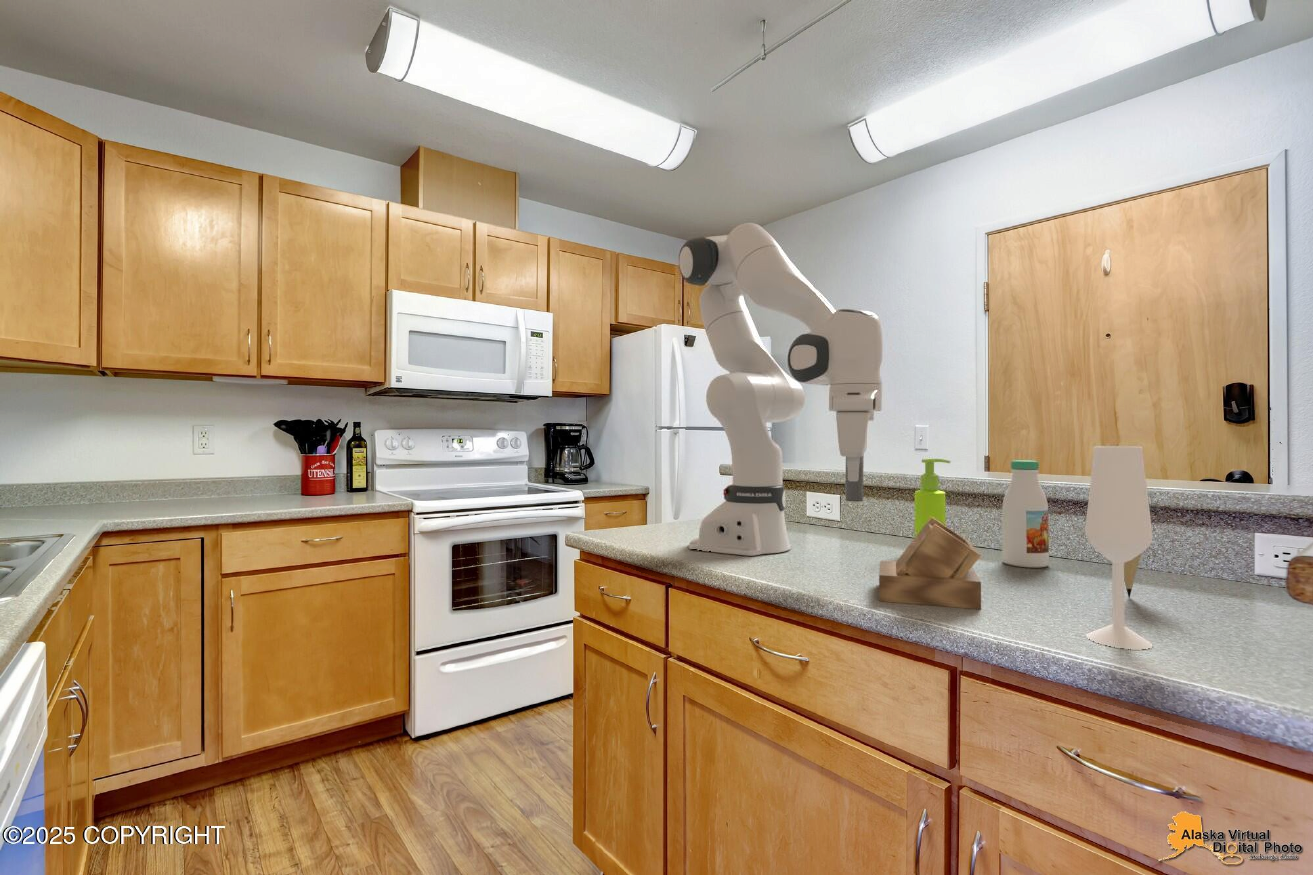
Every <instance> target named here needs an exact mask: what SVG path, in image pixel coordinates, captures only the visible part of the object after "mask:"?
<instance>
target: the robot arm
mask: <svg viewBox="0 0 1313 875" xmlns="http://www.w3.org/2000/svg"><path fill="white" fill-rule="evenodd" d="M678 268H679V272H680V275H681V276H682V279H683V280H684V281H685V282H686V283H687V284H690V285H693V286H700V287H702V286H706V287H705V288H704V289H703V290H702V291H701V293H700V295H699V300H698V302H699V303H698V304H699V311H700V316H701V320H702V324H703V329H704V331H705V334H706V336H707V339H708V342H709V344H710V347H711V350H712V353H713V355H714V358H715V361H716V362H717V364H718V365H719V366H720V367H721V368H722V369H723V370H725V371H727V372H728V373H725V374H721V375H718V376H717V375H716V376H715V377H714V378H713V379H712V380H711V381H710V383H709V385H708V387H707V390H706V396H705V398H706V400H705V401H706V405H707V406H706V407H707V409H708V411H709V413H710V414H711V415H712V416H713V418H715V419H716V420H717V421H718V422H719V423H720V425H721V427H722V428H723V430H724V432H725V434H726V437H727V440H728V442H729V447H730V453H731V466H732V467H731V469H732V471H731V472H732V483H731V484H728V485H727V486H726V487H725V488H724V489H723V492H722V493H723V499H724V501H723V502H722V503H721V504H719V505H718V506H717V507H716V508H714V509H713V510H712V511H711V512H709V513H708V514H707V515H706V516H704V517H703V519H702V521H701V523H700V526H699V533H698V537H696V538H693V539H692V540H691V541H690V542H688V543H689V544H688V549H690V550H691V549H697V550H696V551H699V550H702V551H701V552H709V551H711V552H710V553H718V554H719V553H721V554H729V555H731V554H732V555H739V556H740V555H741V556H749V557H750V556H752V557H753V556H759V555H764V554H765V555H766V554H767V555H768V554H777V553H783V552H786V551H790V550H791V543H790V540H789V536H788V532H787V526H786V519H785V509H786V489H785V487H786V486H785V485H784V483H783V478H784V477H783V471H784V470H783V451H782V449H781V447H780V446H779V445H778V443H776V442H775V441H774V440H773V438H772V437H771V435H770V433H769V430H768V426H767V423H775V424H776V423H781V422H786V421H789V420H790V419H794V418H796V417H797V416H798V415H799V414H800V413H801V411H802V410H803V407H804V404H805V399H806V398H805V392H804V389H803V386H802V385H801V383H803V384H806V385H814V386H815V385H816V386H817V385H819V386H828V387H829V388H828V389H829V390H828V391H829V392H828V393H829V394H828V411H829V412H835V414H836V415H835V419H836V428H837V431H836V432H837V440H838V449H839V453H840V454H839V455H840V456H841V457H845V458H846V457H847V469H848V480H849V481H858V479H859V463H860V457H862V456H863V454H864V455H865V453H866V451H867V446H868V425H869V421H870V422H871V421H872V422H873V421H874V418H875V416H874V415H875V414H874V413H875V412H882V397H883V396H882V395H883V394H882V393H883V390H882V389H883V382H882V376H881V372H880V371H881V365H882V362H883V333H882V325H881V322H880V319H879V317H878V315H877V314H875V313H874V312H872V311H869V310H861V309H860V310H858V309H853V308H852V309H850V308H842V309H839V310H838V309H837V310H836V309H835V308H834V307H833V305H832V304H831V303H830V302H829V301H828V300H827V299H826V297H824V295H823V294H822V293H821V292H820V291H819V290H818V289H817V288H816V287H815V286H814V285H813V284H812V283H810V281H809V280H808V279H807V278H806V277H805V276H804V275H803V274H802V273H801V272H800V270H799V269H798V268H797V267H796V266H795V264H793V262H792V261H791V260H790V258H789V257H788V256H787V254H786V253H785V252H784V250H783V249H782V247H781V246H780V245H779V243H778V242H777V241H776V239H775V238H774V237H773V236H772V235H771V234H770V233H768V231H766V229H764V228H763V227H762V226H761V225H760V224H757V223H754V222H746V223H745V222H744V223H742V224H739V225H737V226H736V227H734V228H733V229H732V230H731V231H730V232H729V234H723V235H715V236H713V235H712V236H706V237H704V236H698V237H694V238H691V239H689V240H686V241H685V243H684V244H683V245H682V247H681V248H680V250H679V254H678ZM744 294H745V295H746V296H747V297H748V298H749V299H750V301H752V302H753V303H754V304H756V305H757V306H759V307H761V308H765V309H768V310H771V311H775V312H778V313H781V314H785V315H787V316H790V317H792V318H795V319H796V320H797V321H800V322H801V323H802V324H804V325H805V326H806V327H807V328H808V330H809V332H807V333H803V334H799V335H798V336H796V338H795V339H794V340H793V342H791V344H790V347H789V349H788V352H787V367H788V370H789V373H790V374H791V376H790V375H789V374H787V372H785V370H784V369H783V368H782V367H781V366H780V365H779V364H778V363H777V361H776V360H775V359H774V357H773V356H772V355H771V354H770V352H769V351H768V349H767V348H766V346H765V345H764V344H763V342H762V339H761V337H760V335H759V333H758V330H757V328H756V325H755V323H754V321H753V319H752V316H751V314H750V311H749V308H748V307H747V305H746V304H747V303H746V301H745V298H744Z"/></svg>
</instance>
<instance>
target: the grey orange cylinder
mask: <svg viewBox="0 0 1313 875" xmlns="http://www.w3.org/2000/svg"><path fill="white" fill-rule="evenodd" d="M864 455H865V453H864V454H863V456H862V457H860V463H859V479H858V481H849V480H848V469H847V457H845V483H844V484H845V492H844V494H845V497H844V498H845V499H844V500H845V501H846V502H854V503H855V502H858V503H859V502H864V463H865V462H864V461H865V460H864V458H865V457H864Z"/></svg>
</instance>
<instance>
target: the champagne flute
mask: <svg viewBox="0 0 1313 875" xmlns="http://www.w3.org/2000/svg"><path fill="white" fill-rule="evenodd" d="M1092 457H1093V458H1092V465H1091V466H1092V468H1091V476H1090V484H1089V493H1088V502H1087V511H1086V519H1085V520H1086V522H1085V530H1084V534H1085V537H1086V539H1087V540H1088V542H1089V544H1090V545H1091V546H1092V547H1093V548H1094V549H1095V550H1096V551H1097V552H1098V553H1099V554H1101V555H1102V556H1103V557H1104V558H1105V559H1106V560H1109V561H1110V562H1111V563H1112V567H1111V569H1112V571H1111V573H1112V575H1111V576H1112V577H1111V579H1112V580H1111V582H1112V583H1111V584H1112V586H1111V588H1112V592H1111V593H1112V596H1111V598H1112V600H1111V602H1112V603H1111V604H1112V607H1111V608H1112V620H1111V621H1112V623H1111V624H1110V625H1107V626H1103V627H1101V628H1099V629H1096V630H1094V631H1090V632H1088V633H1086V634H1085V638H1086V639H1088V640H1089V639H1090V640H1089V641H1091V642H1093V641H1094V642H1093V643H1096V644H1098V643H1099V645H1102V646H1105V645H1107V646H1106V647H1109V646H1111V647H1110V648H1114V647H1115V649H1120V648H1124V649H1123V650H1128V649H1129V650H1130V649H1131V650H1132V651H1143V650H1142V649H1146V650H1149V649H1148V648H1150V649H1152V648H1153V647H1152V646H1153V644H1152V643H1151V642H1150V641H1148V640H1147V639H1145V638H1144V637H1142V636H1141V635H1139V634H1137V633H1136V632H1135V631H1133V630H1131V629H1130V628H1128V627H1126V626H1125V581H1124V563H1125V562H1128V561H1130V560H1132V559H1133V558H1135V557H1136V556H1138V555H1139V554H1141V555H1142V553H1143V552H1145V551H1146V549H1148V547H1149V546H1150V545H1151V543H1152V542H1153V538H1154V537H1153V529H1152V528H1153V525H1152V520H1151V511H1150V504H1149V502H1150V501H1149V495H1148V486H1147V478H1146V469H1145V461H1144V452H1143V447H1142V446H1135V445H1133V446H1132V445H1130V446H1129V445H1128V446H1127V445H1126V446H1123V445H1117V446H1114V445H1112V446H1111V445H1106V446H1105V445H1104V446H1101V445H1100V446H1099V445H1098V446H1097V445H1096V446H1094V447H1093V456H1092ZM1151 525H1152V526H1151ZM1131 650H1130V651H1131Z"/></svg>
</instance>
